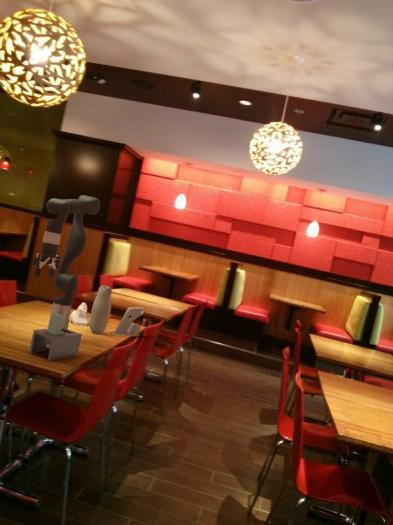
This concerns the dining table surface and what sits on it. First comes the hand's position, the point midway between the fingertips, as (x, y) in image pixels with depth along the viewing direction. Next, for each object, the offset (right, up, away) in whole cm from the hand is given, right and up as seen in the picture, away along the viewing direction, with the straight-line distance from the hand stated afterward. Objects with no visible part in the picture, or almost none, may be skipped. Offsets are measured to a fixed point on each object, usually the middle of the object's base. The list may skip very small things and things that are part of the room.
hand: (43, 276), depth 203 cm
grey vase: (+12, -35, +53) cm, 65 cm away
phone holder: (+27, -38, +67) cm, 81 cm away
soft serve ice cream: (-3, -31, +69) cm, 76 cm away
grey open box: (+6, -34, -5) cm, 35 cm away
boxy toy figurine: (+6, -31, -8) cm, 32 cm away
